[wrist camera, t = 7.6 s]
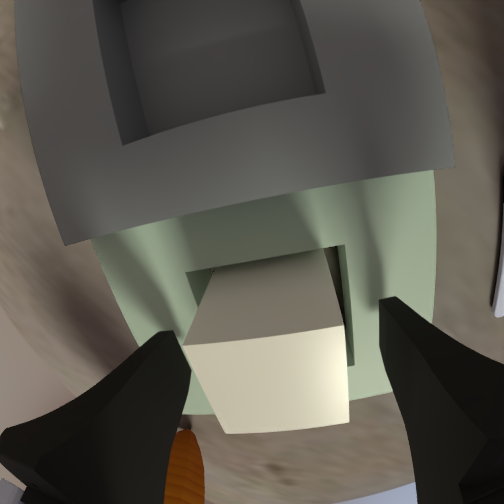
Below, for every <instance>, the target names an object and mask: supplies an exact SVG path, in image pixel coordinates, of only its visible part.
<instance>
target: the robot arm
mask: <svg viewBox="0 0 504 504" xmlns="http://www.w3.org/2000/svg"><path fill="white" fill-rule="evenodd" d="M492 313H493V314H494V315H495V317H501V316H504V205H503V228H502V241H501V252H500V261H499V269H498V276H497V283H496V289H495V295H494V301H493V306H492ZM379 348H380V352H381V356H382V360H383V364H384V368H385V371H386V374H387V377H388V379H389V382H390V385H391V387H392V390H393V393H394V395H395V398H396V401H397V403H398V406H399V409H400V412H401V415H402V417H403V420H404V424H405V427H406V431H407V435H408V440H409V445H410V450H411V456H412V462H413V468H414V475H415V483H416V491H417V502H418V504H504V364H502V363H499V362H497V361H495V360H492V359H490V358H488V357H486V356H483V355H481V354H479V353H478V352H476V351H474V350H472V349H470V348H468V347H466V346H465V345H463V344H461V343H459V342H458V341H456V340H455V339H453V338H452V337H450V336H448V335H447V334H445V333H444V332H442V331H441V330H440V329H438V328H437V327H435V326H434V325H432V324H431V323H430V322H428V321H427V320H426V319H424V318H423V317H422V316H421V315H419V314H418V313H417V312H415V311H414V310H413V309H412V308H410V307H409V306H408V305H407V304H405V303H404V302H403V301H402V300H400V299H399V298H398V297H396V296H393V297H388V298H383V299H379ZM191 373H192V370H191V368H190V366H189V363H188V361H187V359H186V357H185V355H184V353H183V351H182V348H181V346H180V344H179V342H178V340H177V337H176V335H175V333H174V331H173V330H168V331H159V332H157V333H156V334H155V335H153V336H152V337H151V338H150V339H148V340H147V341H146V342H145V343H144V344H143V345H142V346H140V347H139V348H138V349H137V350H136V351H135V352H134V353H133V354H132V355H130V356H129V357H128V358H127V359H126V360H125V361H124V362H123V363H121V364H120V365H119V366H118V367H117V368H116V369H114V370H113V371H112V372H111V373H110V374H108V375H107V376H106V377H105V378H103V379H102V380H101V381H100V382H98V383H97V384H96V385H94V386H93V387H92V388H90V389H89V390H87V391H86V392H84V393H83V394H81V395H80V396H78V397H77V398H75V399H74V400H72V401H70V402H69V403H66V404H65V405H63V406H61V407H60V408H58V409H56V410H54V411H52V412H50V413H48V414H45V415H43V416H41V417H38V418H36V419H33V420H31V421H28V422H25V423H22V424H19V425H16V426H12V427H9V428H6V429H5V430H4V431H3V433H2V434H1V436H0V463H1V464H2V465H3V466H4V467H5V468H6V469H7V470H9V471H10V472H11V473H12V474H13V475H14V476H15V477H16V478H18V479H19V480H20V481H21V482H22V483H24V484H25V485H26V486H27V487H26V489H25V491H23V490H22V489H20V488H19V487H17V486H16V485H14V484H12V483H10V482H8V481H7V480H5V479H1V480H0V504H164V496H165V486H166V478H167V470H168V465H169V459H170V453H171V449H172V445H173V441H174V438H175V435H176V431H177V428H178V425H179V422H180V419H181V416H182V413H183V409H184V406H185V403H186V400H187V396H188V392H189V386H190V380H191Z"/></svg>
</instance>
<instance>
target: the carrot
mask: <svg viewBox="0 0 504 504" xmlns="http://www.w3.org/2000/svg"><path fill="white" fill-rule="evenodd" d="M204 494H205V486H204V466H203V461H202V456H201V451H200V448H199V445H198V442H197V439H196V436H195V435H194V433H193V432H192V431H191V430H190V429H184V430H181V431H179V432H177V433H176V435H175V438H174V441H173V445H172V449H171V453H170V459H169V465H168V470H167V478H166V486H165V496H164V504H204Z"/></svg>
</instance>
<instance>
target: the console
mask: <svg viewBox="0 0 504 504" xmlns="http://www.w3.org/2000/svg"><path fill="white" fill-rule="evenodd" d="M15 33H16V47H17V58H18V67H19V75H20V82H21V89H22V95H23V101H24V107H25V112H26V117H27V122H28V127H29V132H30V136H31V140H32V145H33V149H34V153H35V157H36V160H37V164H38V168H39V171H40V175H41V178H42V182H43V185H44V188H45V191H46V195H47V198H48V201H49V204H50V207H51V210H52V213H53V216H54V219H55V221H56V224H57V227H58V230H59V232H60V235H61V238H62V240H63V243H64V245H65V246H67V245H70V244H74V243H77V242H81V241H84V240H88V239H91V241H92V244H93V246H94V249H95V251H96V254H97V256H98V259H99V261H100V264H101V266H102V269H103V271H104V273H105V276H106V278H107V280H108V283H109V285H110V287H111V290H112V292H113V294H114V296H115V298H116V301H117V303H118V305H119V307H120V309H121V311H122V313H123V316H124V318H125V320H126V322H127V324H128V326H129V328H130V330H131V332H132V334H133V336H134V338H135V340H136V342H137V344H138V346H139V347H140V346H142V345H143V344H144V343H145V342H146V341H147V340H148V339H150V338H151V337H152V336H153V335H155V334H156V333H157V332H159V331H168V330H173V331H174V333H175V335H176V337H177V340H178V342H179V344H180V346H181V348H182V351H183V353H184V355H185V357H186V359H187V361H188V363H189V366H190V368H191V370H192V373H191V380H190V386H189V392H188V396H187V400H186V403H185V406H184V409H183V413H182V414H215V412H214V411H213V409H212V407H211V405H210V403H209V401H208V399H207V397H206V395H205V393H204V391H203V389H202V387H201V385H200V383H199V380H198V378H197V376H196V374H195V372H194V370H193V368H192V366H191V364H190V361H189V359H188V357H187V355H186V353H185V351H184V348H183V346H182V345H183V343H184V341H185V338H186V336H187V333H188V331H189V329H190V326H191V324H192V321H193V319H194V317H195V314H196V312H197V310H198V307H199V305H200V303H201V300H202V298H203V296H204V293H205V291H206V289H207V286H208V284H209V282H210V279H211V277H212V275H211V272H210V269H209V268H213V267H219V266H225V265H230V264H236V263H242V262H248V261H253V260H259V259H265V258H270V257H276V256H282V255H287V254H293V253H299V252H304V251H310V250H315V249H321V248H327V247H332V246H337V249H338V257H339V265H340V273H341V282H342V291H343V301H344V311H345V322H346V329H344V331H345V344H346V358H347V375H348V398H349V400H355V399H360V398H365V397H370V396H375V395H379V394H384V393H388V392H393V390H392V387H391V385H390V382H389V379H388V377H387V374H386V371H385V368H384V364H383V360H382V356H381V352H380V348H379V299H383V298H388V297H393V296H396V297H398V298H399V299H400V300H402V301H403V302H404V303H405V304H407V305H408V306H409V307H410V308H412V309H413V310H414V311H415V312H417V313H418V314H419V315H421V316H422V317H423V318H424V319H426V320H427V321H428V322H430V323H431V324H432V316H433V306H434V293H435V276H436V202H435V185H434V172H433V170H437V169H445V168H453V167H455V162H454V151H453V142H452V133H451V126H450V119H449V112H448V106H447V100H446V95H445V90H444V85H443V80H442V75H441V71H440V66H439V62H438V58H437V54H436V50H435V47H434V43H433V39H432V36H431V33H430V29H429V26H428V23H427V20H426V17H425V14H424V11H423V8H422V5H421V2H420V0H15Z"/></svg>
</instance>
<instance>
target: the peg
mask: <svg viewBox="0 0 504 504" xmlns="http://www.w3.org/2000/svg"><path fill="white" fill-rule="evenodd" d="M182 346H183V348H184V351H185V353H186V355H187V357H188V359H189V361H190V364H191V366H192V368H193V370H194V372H195V374H196V376H197V378H198V380H199V383H200V385H201V387H202V389H203V391H204V393H205V395H206V397H207V399H208V401H209V403H210V405H211V407H212V409H213V411H214V412H215V414H216V416H217V418H218V420H219V422H220V424H221V426H222V428H223V429H224V431H225V433H226V434H238V433H260V432H275V431H287V430H297V429H306V428H314V427H322V426H329V425H335V424H341V423H347V422H349V398H348V375H347V358H346V344H345V331H344V323H343V319H342V315H341V311H340V307H339V303H338V300H337V296H336V292H335V288H334V285H333V281H332V277H331V274H330V270H329V267H328V263H327V260H326V256H325V253H324V249H323V248H321V249H315V250H310V251H304V252H299V253H293V254H287V255H282V256H276V257H270V258H265V259H259V260H253V261H248V262H242V263H236V264H230V265H225V266H219V267H216V268H215V270H214V272H213V275H212V277H211V279H210V282H209V284H208V286H207V289H206V291H205V293H204V296H203V298H202V300H201V303H200V305H199V307H198V310H197V312H196V314H195V317H194V319H193V321H192V324H191V326H190V329H189V331H188V333H187V336H186V338H185V341H184V343H183V345H182Z"/></svg>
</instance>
